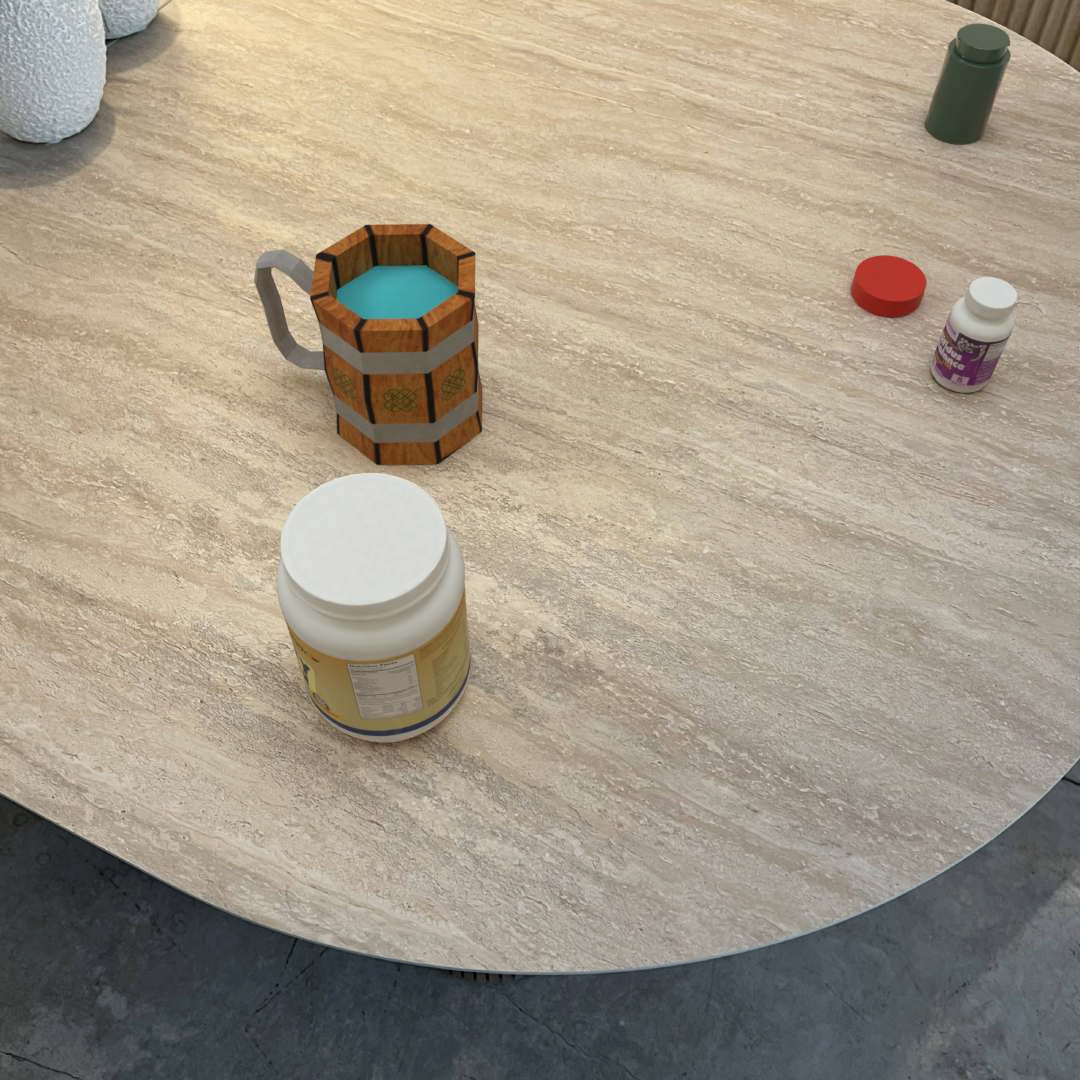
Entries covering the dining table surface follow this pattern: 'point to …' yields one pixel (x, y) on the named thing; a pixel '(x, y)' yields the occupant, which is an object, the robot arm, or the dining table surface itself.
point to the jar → (968, 84)
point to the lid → (888, 286)
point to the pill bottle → (975, 335)
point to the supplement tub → (375, 606)
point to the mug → (389, 338)
